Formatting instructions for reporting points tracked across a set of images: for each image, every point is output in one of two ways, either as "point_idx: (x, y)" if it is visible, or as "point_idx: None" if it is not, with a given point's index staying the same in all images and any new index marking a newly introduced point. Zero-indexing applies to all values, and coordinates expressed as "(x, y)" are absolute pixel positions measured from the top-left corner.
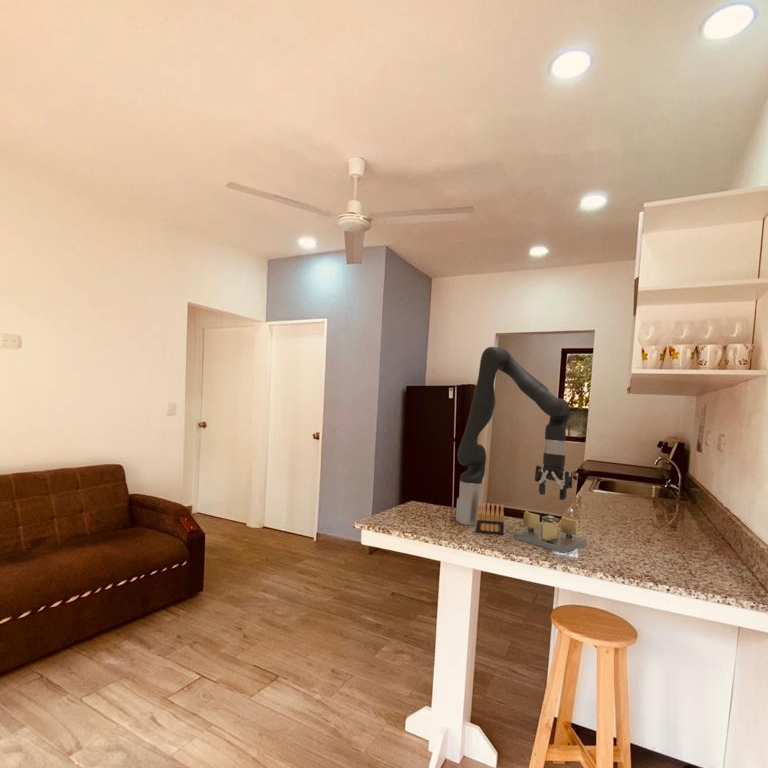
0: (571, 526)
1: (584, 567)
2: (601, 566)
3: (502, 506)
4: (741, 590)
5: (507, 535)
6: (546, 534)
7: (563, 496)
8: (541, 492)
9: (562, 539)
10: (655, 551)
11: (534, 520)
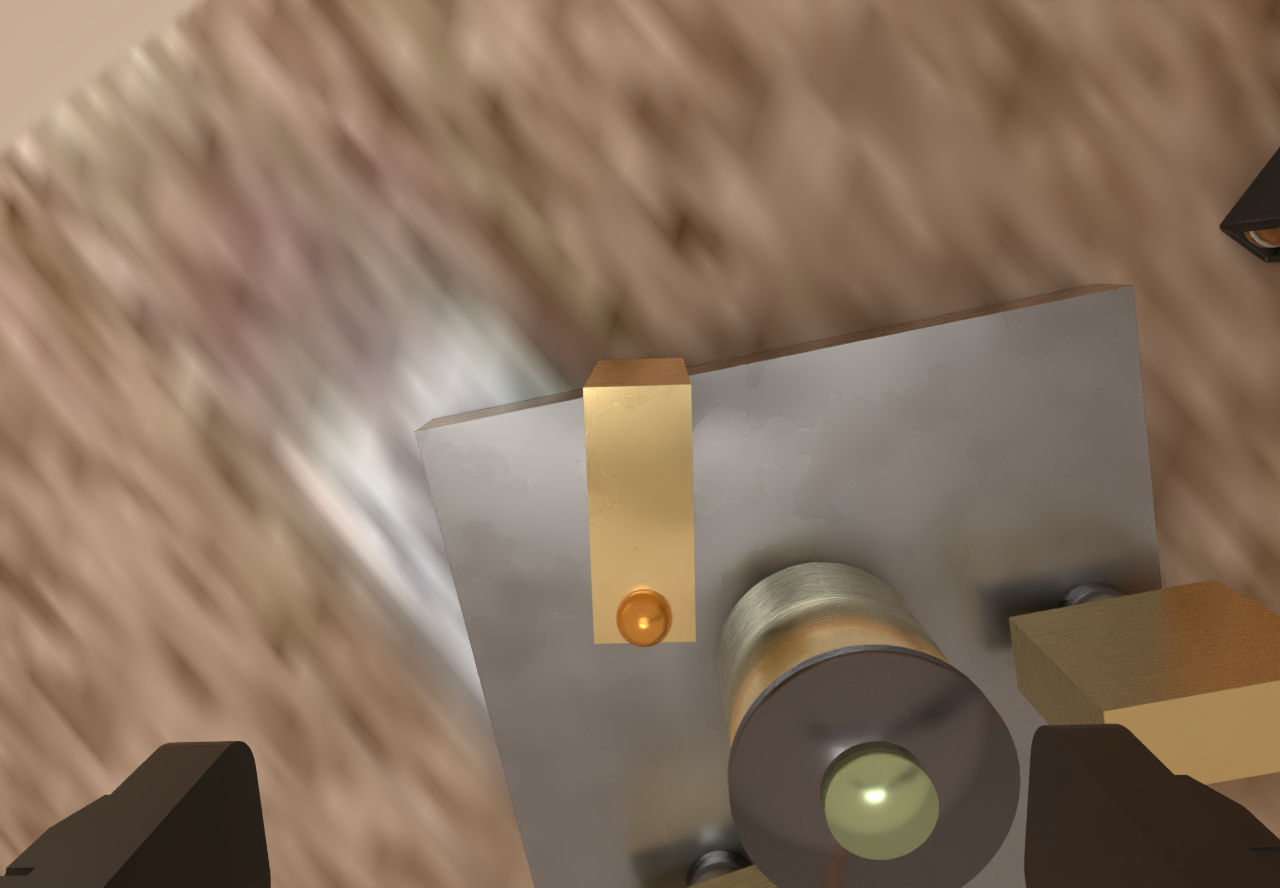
0: None
1: (25, 257)
2: (11, 475)
3: None
4: None
5: (1194, 284)
6: (611, 368)
7: (31, 847)
8: (1072, 765)
9: (656, 696)
10: None
11: (1097, 663)
